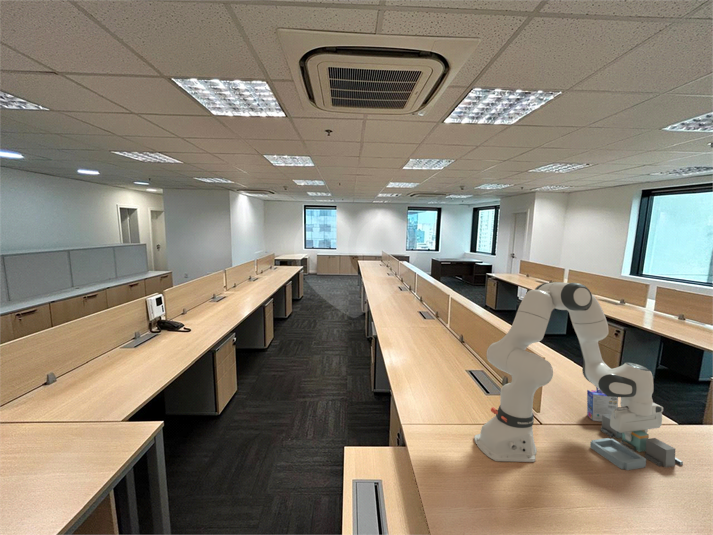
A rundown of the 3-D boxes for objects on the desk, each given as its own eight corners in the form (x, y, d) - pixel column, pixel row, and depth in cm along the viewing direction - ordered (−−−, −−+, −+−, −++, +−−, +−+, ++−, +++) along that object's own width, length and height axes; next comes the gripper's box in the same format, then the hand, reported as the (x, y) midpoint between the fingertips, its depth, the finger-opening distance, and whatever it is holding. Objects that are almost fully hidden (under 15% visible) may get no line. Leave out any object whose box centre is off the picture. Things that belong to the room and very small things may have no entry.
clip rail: (655, 469, 98) (656, 465, 98) (593, 430, 119) (593, 427, 119) (682, 464, 100) (682, 460, 100) (616, 427, 121) (616, 424, 121)
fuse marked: (639, 452, 106) (640, 435, 106) (621, 441, 112) (622, 425, 112) (648, 450, 107) (648, 434, 107) (630, 440, 113) (630, 424, 113)
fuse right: (665, 467, 98) (666, 450, 98) (645, 455, 104) (646, 439, 104) (674, 466, 99) (675, 448, 99) (654, 454, 105) (654, 437, 105)
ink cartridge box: (610, 416, 129) (611, 386, 129) (618, 423, 124) (619, 392, 123) (585, 414, 132) (586, 384, 131) (592, 420, 126) (593, 389, 126)
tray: (623, 470, 97) (624, 463, 97) (588, 446, 109) (588, 440, 109) (647, 466, 99) (648, 460, 99) (610, 443, 111) (611, 437, 111)
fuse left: (616, 438, 114) (617, 423, 114) (601, 429, 120) (602, 414, 120) (624, 437, 115) (625, 422, 115) (609, 428, 121) (609, 414, 120)
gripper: (623, 412, 104) (621, 448, 105) (666, 407, 107) (665, 441, 108) (605, 403, 110) (604, 437, 111) (647, 399, 114) (646, 431, 114)
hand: (634, 439), depth 109 cm, fingers closed on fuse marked, 4 cm apart
